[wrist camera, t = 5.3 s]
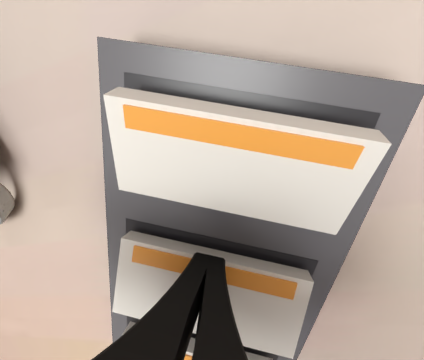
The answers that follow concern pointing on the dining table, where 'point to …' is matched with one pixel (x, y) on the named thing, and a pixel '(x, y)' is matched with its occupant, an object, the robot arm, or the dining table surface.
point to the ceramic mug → (5, 203)
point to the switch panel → (260, 100)
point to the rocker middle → (236, 281)
